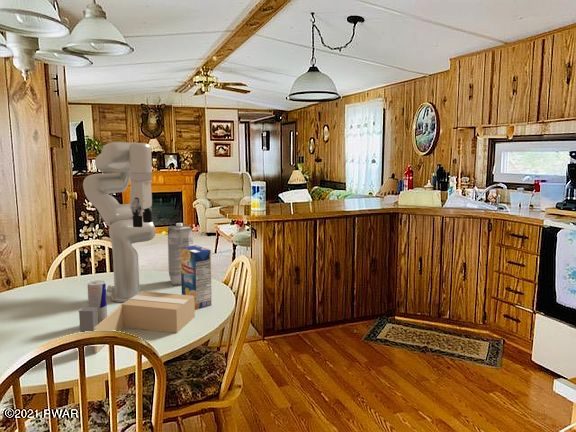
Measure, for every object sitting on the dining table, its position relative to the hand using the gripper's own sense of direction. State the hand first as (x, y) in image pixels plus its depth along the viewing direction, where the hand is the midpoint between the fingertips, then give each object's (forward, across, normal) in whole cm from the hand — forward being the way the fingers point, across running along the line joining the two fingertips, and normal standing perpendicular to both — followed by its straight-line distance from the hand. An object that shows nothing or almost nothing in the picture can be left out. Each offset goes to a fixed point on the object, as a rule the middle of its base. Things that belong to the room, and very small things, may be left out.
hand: (142, 224), depth 159 cm
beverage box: (+32, -7, +18) cm, 38 cm away
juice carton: (+32, -34, +4) cm, 47 cm away
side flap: (+32, +27, -4) cm, 42 cm away
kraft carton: (+32, +12, +9) cm, 36 cm away
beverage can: (+32, +15, -11) cm, 38 cm away
